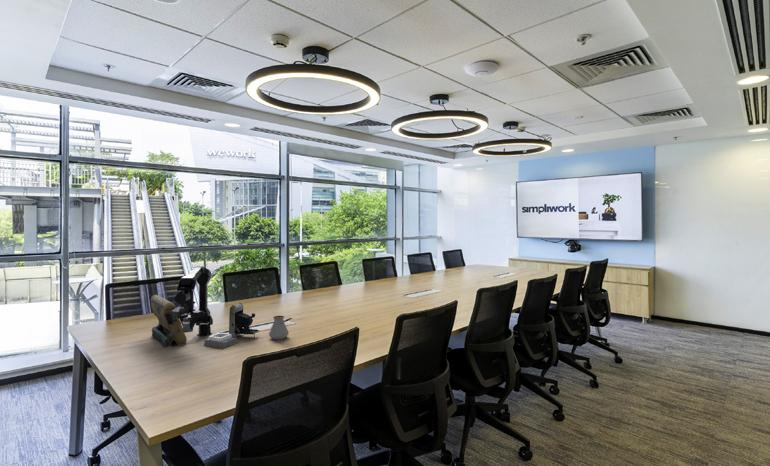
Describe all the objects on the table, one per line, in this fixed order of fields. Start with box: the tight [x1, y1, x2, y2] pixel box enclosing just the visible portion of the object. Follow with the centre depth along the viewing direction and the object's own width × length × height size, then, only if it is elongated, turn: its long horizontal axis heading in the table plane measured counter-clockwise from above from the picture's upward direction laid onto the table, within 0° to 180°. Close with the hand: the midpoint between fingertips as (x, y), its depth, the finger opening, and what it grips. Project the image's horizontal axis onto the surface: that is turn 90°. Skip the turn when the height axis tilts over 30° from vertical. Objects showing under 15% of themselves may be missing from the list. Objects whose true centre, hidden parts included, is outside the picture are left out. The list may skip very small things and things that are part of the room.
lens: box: [182, 316, 194, 334], centre depth 216 cm, size 5×5×7 cm
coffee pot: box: [268, 315, 294, 341], centre depth 233 cm, size 21×12×15 cm, turn 42°
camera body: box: [203, 332, 238, 349], centre depth 224 cm, size 14×10×5 cm
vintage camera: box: [228, 302, 261, 339], centre depth 237 cm, size 10×15×20 cm, turn 79°
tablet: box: [150, 294, 188, 348], centre depth 231 cm, size 33×14×25 cm, turn 48°
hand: (188, 328), depth 216 cm, fingers closed on lens, 5 cm apart
